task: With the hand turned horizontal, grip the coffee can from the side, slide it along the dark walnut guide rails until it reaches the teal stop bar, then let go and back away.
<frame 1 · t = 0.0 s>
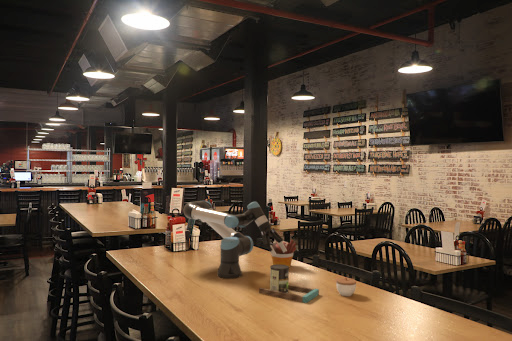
hand: (280, 253, 244), 15 cm above the table, tool tilted 35°, fingers open, 13 cm apart
coffee can: (279, 292, 216), on the table
lidded jar: (345, 294, 214), on the table
bucket of meat: (282, 267, 272), on the table
stop bar: (310, 298, 206), on the table
guide rails: (288, 293, 213), on the table
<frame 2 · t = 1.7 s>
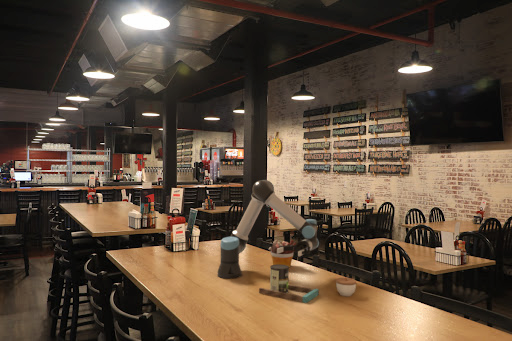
hand: (287, 252, 224), 20 cm above the table, tool horizontal, fingers open, 13 cm apart
nothing on the table moved.
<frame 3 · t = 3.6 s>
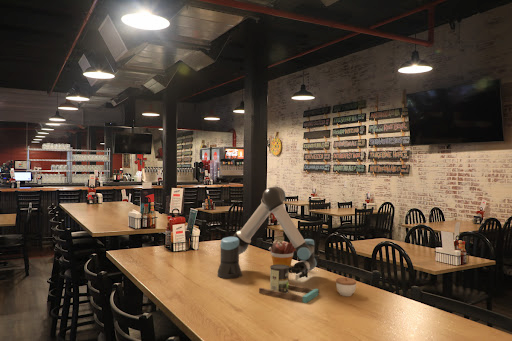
hand: (285, 275, 221), 8 cm above the table, tool horizontal, fingers open, 13 cm apart
nothing on the table moved.
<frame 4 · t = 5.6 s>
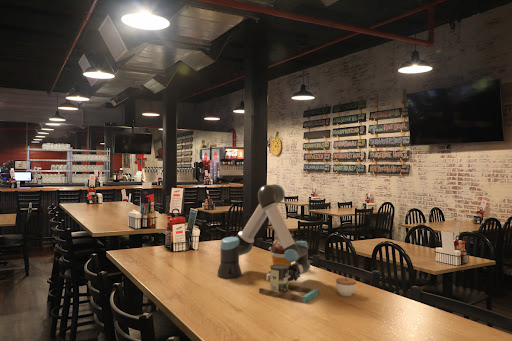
hand: (275, 279, 213), 8 cm above the table, tool horizontal, fingers closed on coffee can, 10 cm apart
coffee can: (279, 292, 216), on the table, touching gripper
everything else where it was.
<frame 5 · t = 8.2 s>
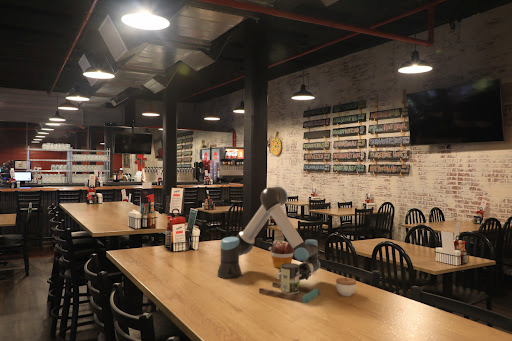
hand: (286, 278, 209), 10 cm above the table, tool horizontal, fingers closed on coffee can, 10 cm apart
coffee can: (289, 291, 213), point 1 cm above the table, touching gripper
everything else where it was.
when the fingers open (8 cm above the table, at t = 10.7 s): coffee can stays where it is, on the table.
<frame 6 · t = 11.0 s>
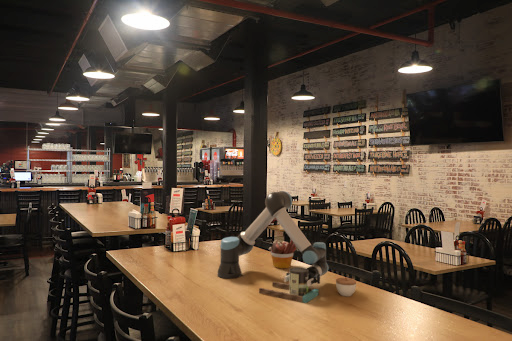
hand: (296, 281, 207), 8 cm above the table, tool horizontal, fingers open, 13 cm apart
coffee can: (298, 296, 210), on the table
everything else where it was.
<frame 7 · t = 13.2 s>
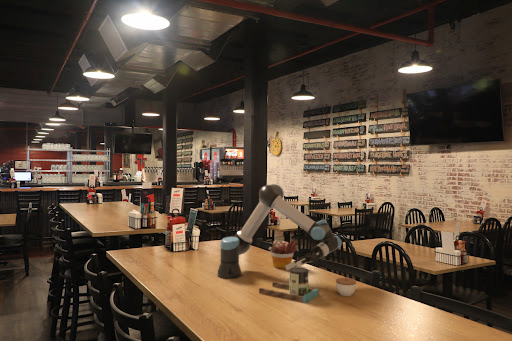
hand: (291, 266, 223), 12 cm above the table, tool tilted 70°, fingers open, 13 cm apart
nothing on the table moved.
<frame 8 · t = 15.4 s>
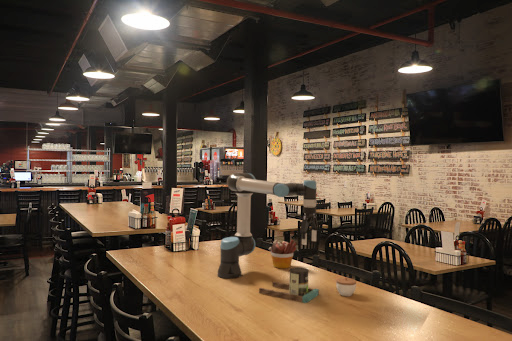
hand: (309, 242, 230), 25 cm above the table, tool pointing down, fingers open, 13 cm apart
nothing on the table moved.
at the end: coffee can inside the target area (0.6 cm from its centre), on the table; coffee can tilted 0°; the gripper is holding nothing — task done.
